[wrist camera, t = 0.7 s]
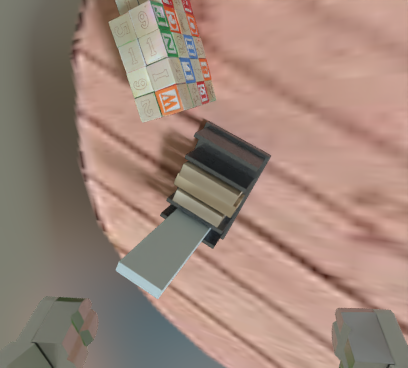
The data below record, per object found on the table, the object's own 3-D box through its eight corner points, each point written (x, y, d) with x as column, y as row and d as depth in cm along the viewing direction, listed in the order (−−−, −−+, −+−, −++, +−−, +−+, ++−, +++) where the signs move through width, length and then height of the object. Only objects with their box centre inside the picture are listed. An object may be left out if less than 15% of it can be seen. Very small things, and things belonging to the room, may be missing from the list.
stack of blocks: (138, -36, 46) (77, -67, 35) (175, -57, 43) (122, -98, 32) (182, 111, 51) (140, 124, 40) (217, 100, 48) (183, 111, 37)
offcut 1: (199, 153, 51) (183, 163, 45) (248, 181, 49) (238, 195, 44) (194, 164, 52) (178, 175, 46) (242, 192, 50) (232, 207, 45)
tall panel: (188, 198, 54) (119, 261, 37) (219, 216, 53) (162, 290, 36) (185, 204, 55) (115, 270, 37) (215, 223, 54) (157, 299, 36)
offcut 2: (191, 164, 52) (178, 173, 47) (244, 195, 50) (236, 207, 46) (186, 174, 53) (173, 184, 48) (239, 204, 51) (230, 218, 47)
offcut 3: (191, 178, 53) (176, 189, 48) (233, 203, 51) (222, 217, 47) (187, 188, 54) (172, 200, 49) (227, 212, 52) (217, 227, 47)
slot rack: (208, 121, 49) (193, 127, 44) (271, 155, 48) (263, 167, 42) (172, 204, 57) (155, 218, 52) (224, 236, 55) (213, 255, 50)
